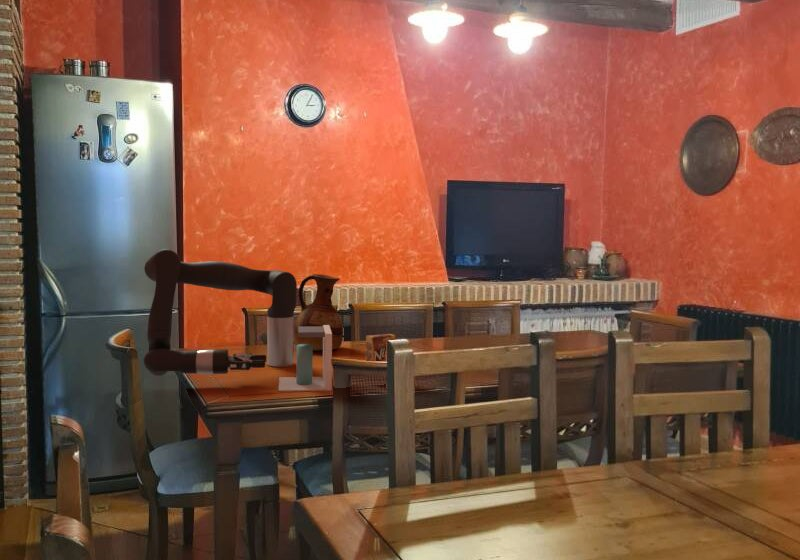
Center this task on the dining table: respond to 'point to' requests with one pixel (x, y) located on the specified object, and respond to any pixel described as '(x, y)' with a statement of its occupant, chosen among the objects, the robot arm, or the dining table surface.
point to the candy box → (377, 346)
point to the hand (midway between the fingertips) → (265, 361)
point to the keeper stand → (326, 380)
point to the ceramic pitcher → (319, 313)
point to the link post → (304, 364)
